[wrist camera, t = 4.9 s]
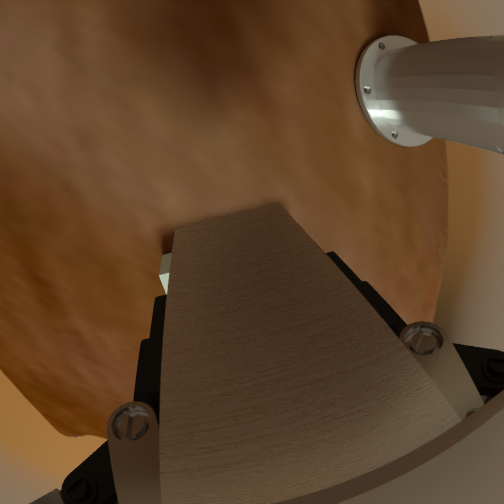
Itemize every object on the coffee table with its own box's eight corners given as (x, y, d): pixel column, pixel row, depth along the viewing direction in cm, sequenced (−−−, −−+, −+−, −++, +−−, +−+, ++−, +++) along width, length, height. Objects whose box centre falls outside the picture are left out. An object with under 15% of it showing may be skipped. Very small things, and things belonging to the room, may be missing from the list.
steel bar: (278, 202, 12) (471, 434, 3) (291, 288, 14) (405, 502, 5) (175, 228, 12) (163, 535, 2) (202, 311, 14) (238, 554, 4)
